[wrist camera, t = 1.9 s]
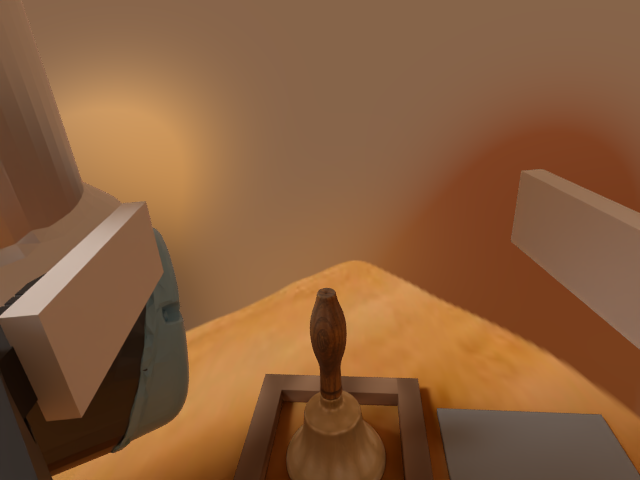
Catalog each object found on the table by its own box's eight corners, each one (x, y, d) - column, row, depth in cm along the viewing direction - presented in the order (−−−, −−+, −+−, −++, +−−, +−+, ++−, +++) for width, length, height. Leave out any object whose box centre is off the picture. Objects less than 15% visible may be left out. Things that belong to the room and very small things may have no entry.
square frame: (220, 547, 28) (216, 534, 28) (267, 385, 42) (265, 374, 41) (443, 565, 26) (444, 552, 26) (417, 390, 40) (417, 378, 39)
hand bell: (278, 428, 37) (256, 276, 30) (364, 406, 39) (362, 257, 32) (297, 520, 30) (274, 346, 23) (403, 487, 31) (410, 317, 25)
